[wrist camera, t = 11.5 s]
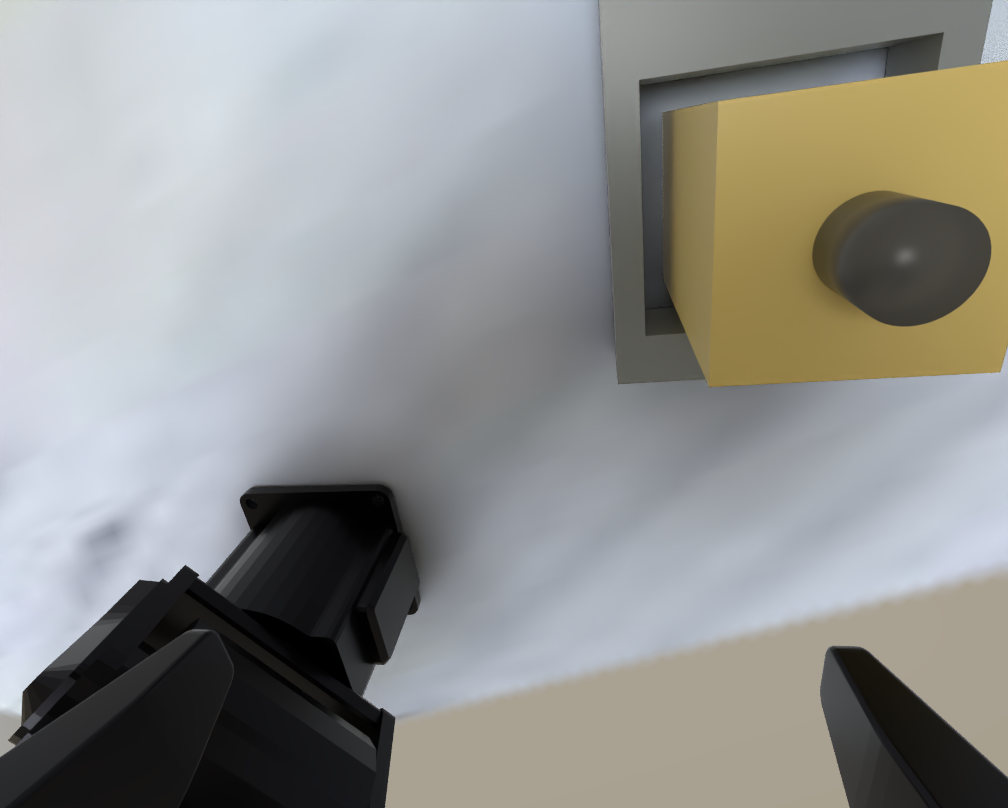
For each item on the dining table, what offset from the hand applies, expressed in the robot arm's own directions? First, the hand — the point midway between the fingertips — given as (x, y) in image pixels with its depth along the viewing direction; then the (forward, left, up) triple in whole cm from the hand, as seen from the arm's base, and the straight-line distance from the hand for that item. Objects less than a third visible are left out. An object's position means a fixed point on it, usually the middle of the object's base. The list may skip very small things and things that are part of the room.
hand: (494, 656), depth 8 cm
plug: (+6, +4, -12) cm, 14 cm away
